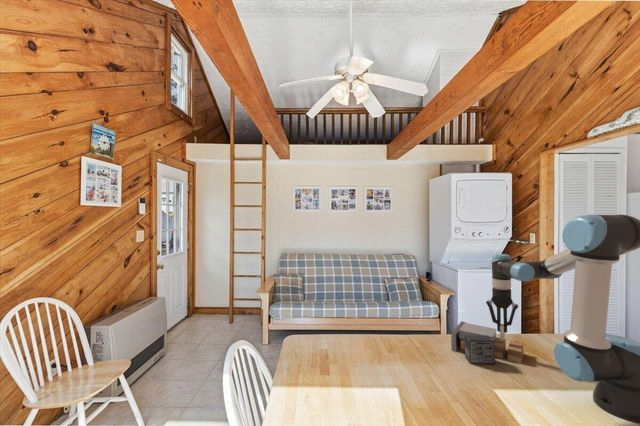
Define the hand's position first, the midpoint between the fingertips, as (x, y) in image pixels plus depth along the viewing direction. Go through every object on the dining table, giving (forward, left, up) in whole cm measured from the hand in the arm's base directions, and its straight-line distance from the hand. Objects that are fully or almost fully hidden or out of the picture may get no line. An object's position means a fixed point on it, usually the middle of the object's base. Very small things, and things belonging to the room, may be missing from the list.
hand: (502, 339), depth 140 cm
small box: (-13, +7, -7) cm, 17 cm away
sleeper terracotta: (0, +15, -7) cm, 16 cm away
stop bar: (0, +19, -7) cm, 20 cm away
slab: (0, +10, -2) cm, 10 cm away
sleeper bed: (0, +2, -7) cm, 7 cm away
